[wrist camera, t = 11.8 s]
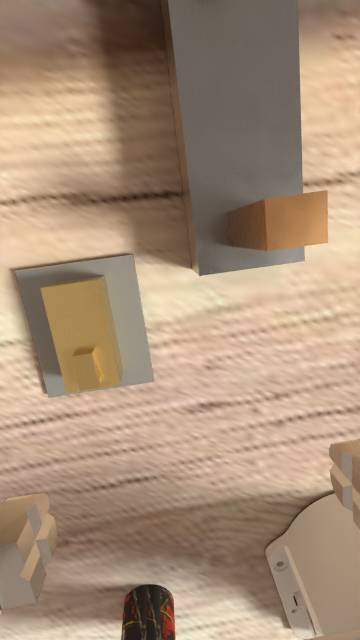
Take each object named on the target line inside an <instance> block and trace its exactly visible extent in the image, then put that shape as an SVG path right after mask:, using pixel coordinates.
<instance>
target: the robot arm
mask: <svg viewBox="0 0 360 640" xmlns="http://www.w3.org/2000/svg"><path fill="white" fill-rule="evenodd" d="M329 457H330V458H331V459H332V461H333V462H334V465H333V466H332V468H331V470H330V476H331V483H332V486H333V489H334V492H335V493H334V494H331V495H328V496H326V497H323V498H321V499H319V500H318V501H316V502H314V503H313V504H311V505H310V506H308V507H307V508H306V509H305V510H303V511H302V512H301V513H300V514H299V515H298V516H297V517H296V519H295V520H294V521H293V523H292V524H291V526H290V527H289V528H288V530H287V531H286V532H285V533H284V534H283V535H282V536H281V537H279V538H278V539H276V540H275V541H273V542H272V543H271V544H270V545H269V546H268V547H267V548H266V550H265V555H266V558H267V561H268V564H269V566H270V569H271V572H272V575H273V578H274V581H275V584H276V587H277V590H278V593H279V595H280V598H281V601H282V604H283V607H284V610H285V613H286V616H287V619H288V622H289V624H290V627H291V629H292V631H293V634H294V635H295V636H296V637H298V638H302V639H304V640H360V439H357V440H352V441H346V442H340V443H334V444H331V445H330V448H329ZM50 505H51V504H50V501H49V498H48V495H47V494H45V493H39V494H32V495H25V496H18V497H11V498H8V499H0V614H1V610H6V609H10V608H15V607H20V606H24V605H29V604H34V603H37V600H38V597H39V594H40V591H41V589H42V586H43V583H44V580H45V577H46V572H45V569H44V566H45V565H46V564H47V563H48V562H49V561H50V560H51V559H52V557H53V554H54V551H55V548H56V542H57V525H56V521H55V518H54V517H53V516H52V515H50V514H49V513H48V510H49V507H50Z"/></svg>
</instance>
